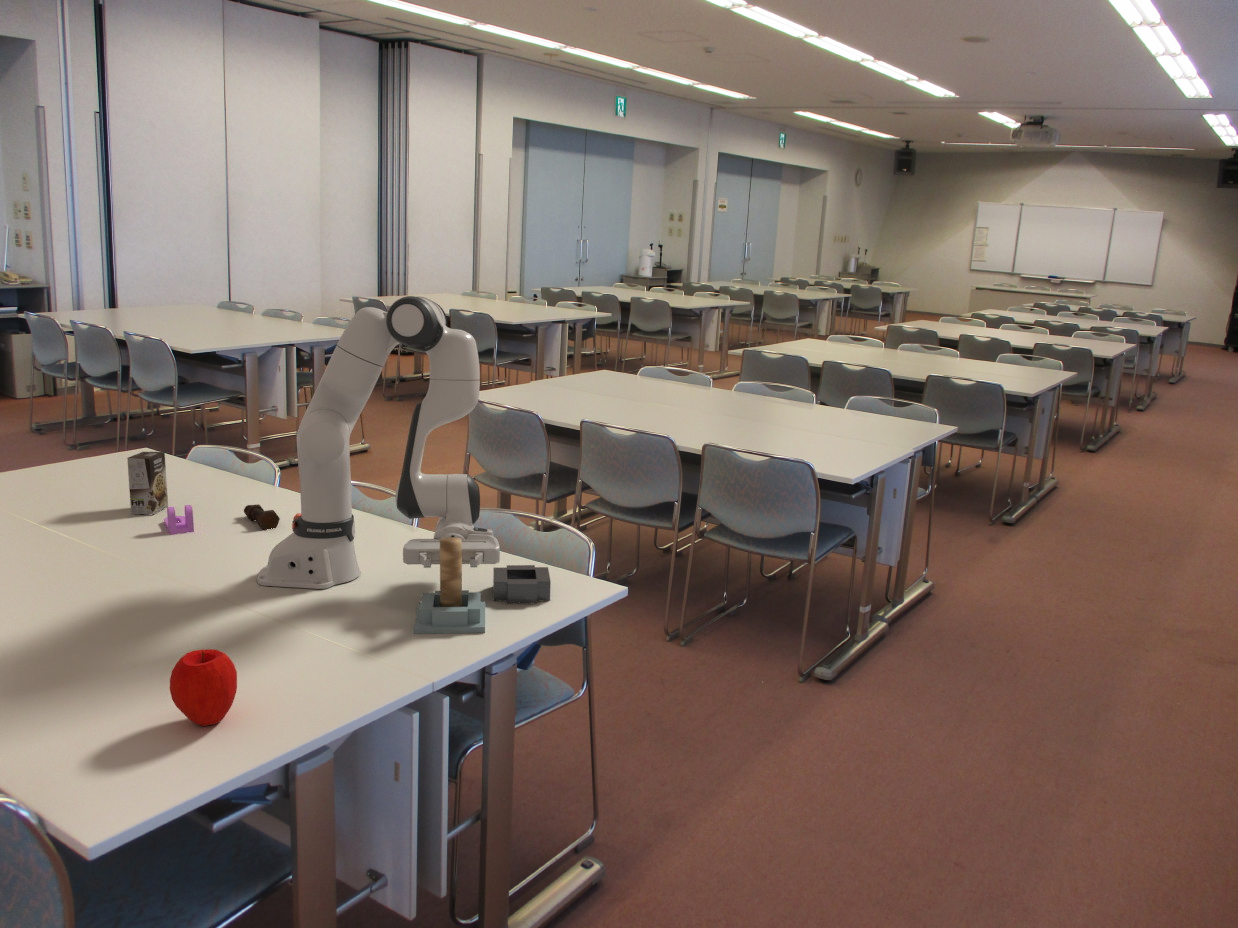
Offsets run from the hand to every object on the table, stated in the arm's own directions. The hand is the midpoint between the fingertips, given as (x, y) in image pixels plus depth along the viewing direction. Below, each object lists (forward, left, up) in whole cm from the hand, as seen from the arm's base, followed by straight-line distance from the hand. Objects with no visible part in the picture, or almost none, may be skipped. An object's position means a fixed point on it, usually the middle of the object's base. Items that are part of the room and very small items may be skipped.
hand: (450, 564), depth 194 cm
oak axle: (0, -1, -11) cm, 11 cm away
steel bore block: (+15, +14, -12) cm, 24 cm away
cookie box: (-86, +82, -12) cm, 120 cm away
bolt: (-54, +71, -12) cm, 90 cm away
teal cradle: (0, -1, -12) cm, 12 cm away
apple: (-37, -42, -12) cm, 57 cm away
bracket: (-74, +67, -12) cm, 100 cm away
